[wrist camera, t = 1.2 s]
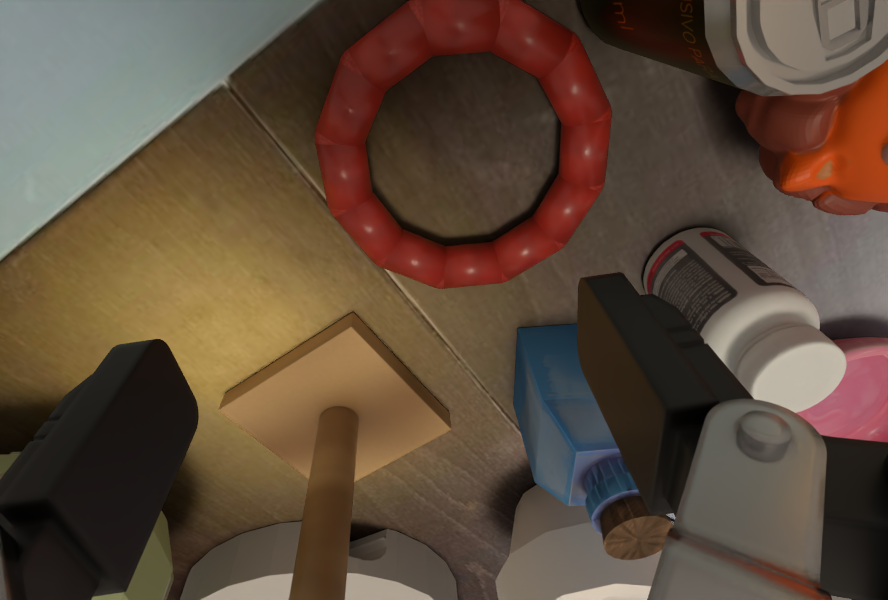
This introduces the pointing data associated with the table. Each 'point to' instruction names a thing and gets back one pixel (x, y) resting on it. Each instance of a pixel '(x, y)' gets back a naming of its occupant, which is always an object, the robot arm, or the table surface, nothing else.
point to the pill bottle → (747, 317)
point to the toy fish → (825, 143)
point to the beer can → (752, 39)
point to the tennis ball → (155, 563)
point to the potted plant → (566, 557)
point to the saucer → (856, 394)
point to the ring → (450, 33)
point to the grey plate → (273, 559)
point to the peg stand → (334, 434)
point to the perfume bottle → (578, 443)
